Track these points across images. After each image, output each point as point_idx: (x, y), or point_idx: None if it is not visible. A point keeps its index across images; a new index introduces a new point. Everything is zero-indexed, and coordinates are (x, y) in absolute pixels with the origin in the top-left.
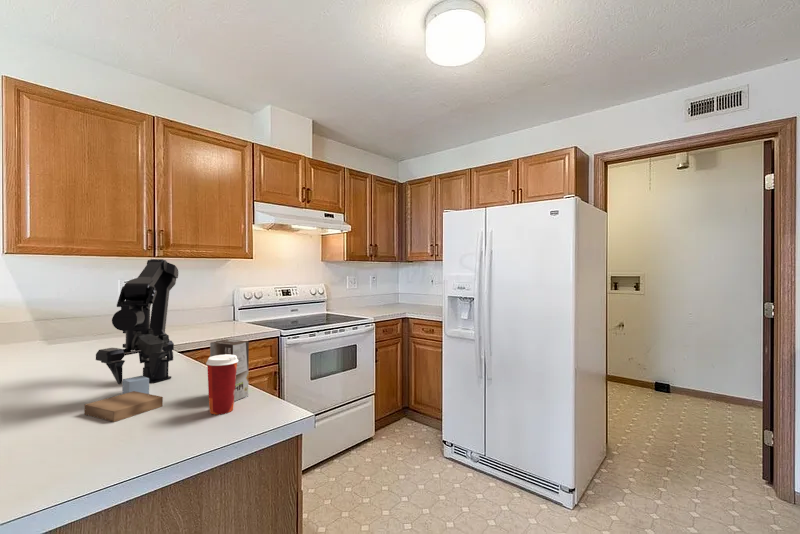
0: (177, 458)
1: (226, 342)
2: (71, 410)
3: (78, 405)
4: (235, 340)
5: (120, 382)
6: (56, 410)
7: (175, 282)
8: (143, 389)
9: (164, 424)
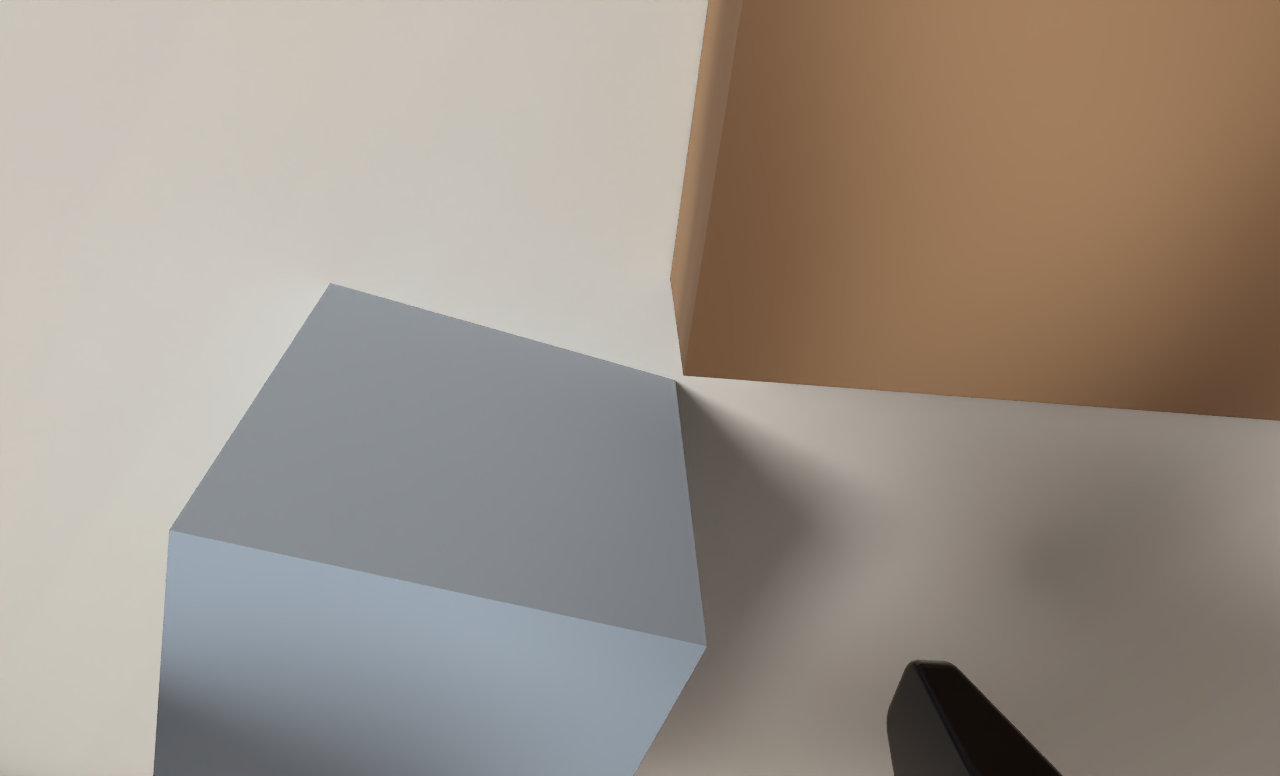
0: None
1: None
2: (1240, 633)
3: (1042, 715)
4: None
5: (970, 697)
6: (1229, 748)
7: None
8: (404, 389)
9: None
